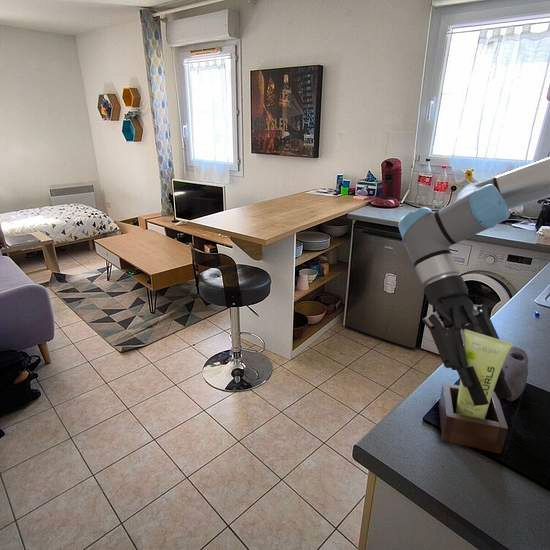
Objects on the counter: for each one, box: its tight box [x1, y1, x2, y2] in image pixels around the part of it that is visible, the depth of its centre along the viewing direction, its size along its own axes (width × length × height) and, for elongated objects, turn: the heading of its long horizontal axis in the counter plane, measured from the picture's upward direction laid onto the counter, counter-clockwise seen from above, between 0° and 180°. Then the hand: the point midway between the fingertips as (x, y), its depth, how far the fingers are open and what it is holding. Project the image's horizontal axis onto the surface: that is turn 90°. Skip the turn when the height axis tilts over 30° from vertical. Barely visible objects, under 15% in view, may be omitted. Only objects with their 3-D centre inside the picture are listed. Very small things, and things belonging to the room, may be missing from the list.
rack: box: [438, 382, 509, 455], centre depth 70 cm, size 10×10×6 cm
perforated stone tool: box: [502, 346, 529, 402], centre depth 80 cm, size 15×5×7 cm, turn 145°
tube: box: [454, 329, 513, 420], centre depth 67 cm, size 6×5×20 cm
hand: (493, 400), depth 64 cm, fingers closed on tube, 5 cm apart
